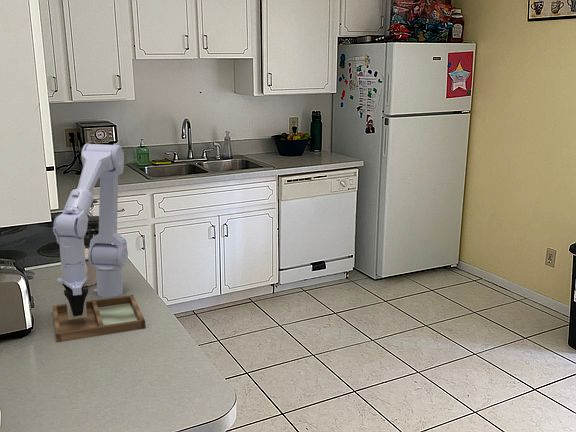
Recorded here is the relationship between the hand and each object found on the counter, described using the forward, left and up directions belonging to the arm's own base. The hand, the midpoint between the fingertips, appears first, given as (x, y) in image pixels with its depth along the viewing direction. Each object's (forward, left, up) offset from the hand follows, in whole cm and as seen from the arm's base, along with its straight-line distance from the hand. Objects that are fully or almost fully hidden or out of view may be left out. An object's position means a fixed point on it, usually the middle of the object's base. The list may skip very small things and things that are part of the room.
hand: (76, 311), depth 150 cm
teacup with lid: (-30, +4, -5) cm, 31 cm away
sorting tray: (0, +5, -4) cm, 7 cm away
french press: (-42, +8, -5) cm, 43 cm away
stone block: (0, 0, -1) cm, 1 cm away
